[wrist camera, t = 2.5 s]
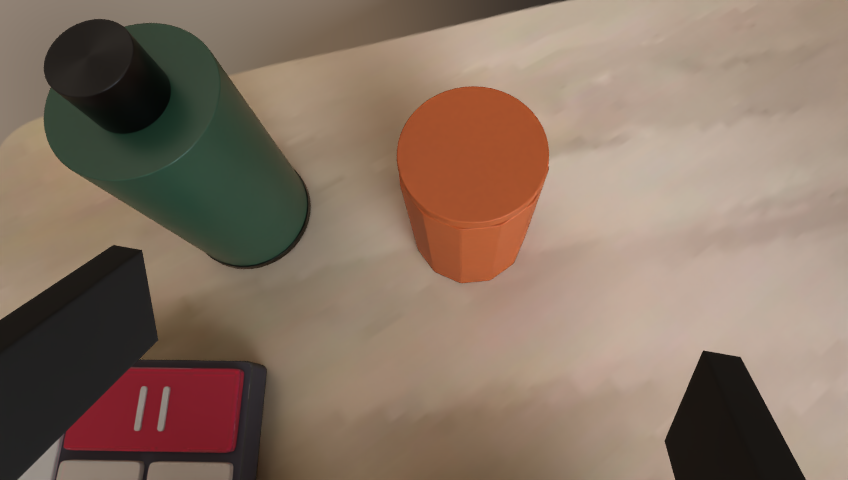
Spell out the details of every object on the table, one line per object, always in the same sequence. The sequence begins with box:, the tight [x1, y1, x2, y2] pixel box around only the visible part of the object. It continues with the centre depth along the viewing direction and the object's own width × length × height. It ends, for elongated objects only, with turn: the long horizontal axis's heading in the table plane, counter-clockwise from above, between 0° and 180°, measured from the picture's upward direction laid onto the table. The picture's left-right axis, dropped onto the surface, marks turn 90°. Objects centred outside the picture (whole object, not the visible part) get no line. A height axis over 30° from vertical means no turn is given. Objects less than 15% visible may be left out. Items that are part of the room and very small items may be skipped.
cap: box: [397, 86, 549, 283], centre depth 32 cm, size 7×7×12 cm
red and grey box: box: [18, 360, 267, 480], centre depth 33 cm, size 11×4×15 cm
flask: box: [44, 19, 311, 269], centre depth 30 cm, size 9×9×18 cm
